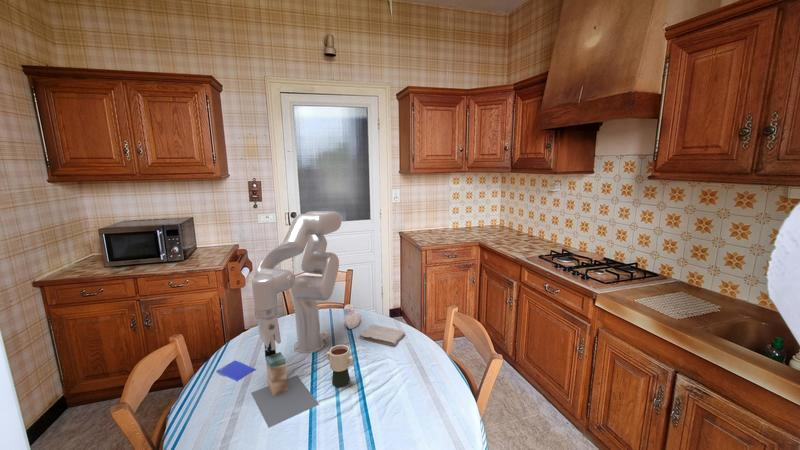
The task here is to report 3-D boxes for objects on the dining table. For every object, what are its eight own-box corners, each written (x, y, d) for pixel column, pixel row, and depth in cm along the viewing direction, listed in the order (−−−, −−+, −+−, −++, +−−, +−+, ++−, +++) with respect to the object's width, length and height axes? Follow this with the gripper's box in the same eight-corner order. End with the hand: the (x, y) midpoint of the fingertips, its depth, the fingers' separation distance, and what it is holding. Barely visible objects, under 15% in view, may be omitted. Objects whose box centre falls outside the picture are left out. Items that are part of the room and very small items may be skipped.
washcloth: (371, 328, 163) (371, 322, 163) (405, 335, 156) (405, 329, 155) (358, 340, 153) (358, 333, 152) (394, 348, 145) (394, 341, 145)
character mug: (359, 381, 123) (358, 347, 121) (349, 393, 117) (347, 358, 114) (334, 374, 127) (332, 342, 125) (322, 385, 121) (320, 351, 119)
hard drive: (216, 370, 129) (237, 380, 123) (235, 359, 136) (256, 368, 130) (216, 374, 130) (237, 384, 124) (236, 363, 137) (256, 372, 131)
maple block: (283, 382, 122) (280, 351, 120) (288, 389, 118) (285, 358, 116) (268, 388, 119) (265, 356, 117) (273, 396, 115) (270, 363, 113)
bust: (358, 323, 172) (345, 305, 173) (368, 317, 169) (355, 298, 170) (345, 334, 161) (331, 314, 162) (355, 327, 158) (342, 307, 159)
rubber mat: (296, 376, 127) (296, 374, 126) (319, 406, 111) (319, 404, 111) (251, 394, 117) (251, 392, 117) (268, 429, 101) (268, 427, 101)
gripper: (284, 315, 114) (288, 365, 118) (271, 301, 126) (275, 347, 129) (261, 322, 110) (266, 373, 113) (249, 307, 122) (254, 354, 125)
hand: (270, 359), depth 121 cm, fingers closed
